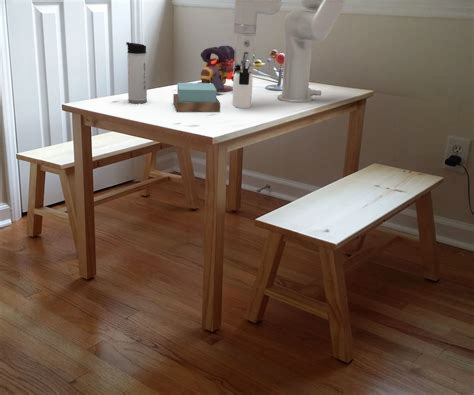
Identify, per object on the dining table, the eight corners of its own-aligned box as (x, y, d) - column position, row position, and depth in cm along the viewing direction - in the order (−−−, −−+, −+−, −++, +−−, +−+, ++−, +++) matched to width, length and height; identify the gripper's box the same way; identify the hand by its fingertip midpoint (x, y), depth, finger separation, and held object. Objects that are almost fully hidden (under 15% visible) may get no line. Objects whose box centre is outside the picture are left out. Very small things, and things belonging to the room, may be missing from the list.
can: (249, 109, 212) (251, 74, 208) (230, 108, 213) (231, 72, 209) (252, 105, 218) (254, 71, 214) (234, 104, 219) (235, 69, 215)
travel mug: (125, 100, 218) (124, 41, 211) (144, 99, 220) (143, 41, 213) (129, 104, 213) (128, 43, 206) (148, 103, 215) (148, 43, 208)
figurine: (218, 97, 230) (220, 50, 224) (188, 91, 237) (188, 46, 231) (246, 89, 246) (248, 46, 240) (217, 84, 253) (218, 42, 247)
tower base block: (213, 105, 219) (213, 94, 217) (219, 114, 206) (220, 102, 205) (173, 105, 216) (173, 93, 215) (176, 114, 203) (177, 102, 202)
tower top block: (212, 95, 216) (212, 83, 214) (216, 102, 205) (216, 90, 203) (177, 94, 214) (177, 82, 213) (179, 101, 203) (179, 89, 202)
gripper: (261, 33, 199) (257, 87, 205) (250, 28, 215) (246, 78, 221) (238, 31, 198) (234, 86, 203) (228, 27, 214) (225, 77, 219)
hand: (241, 82), depth 212 cm, fingers open, 9 cm apart
